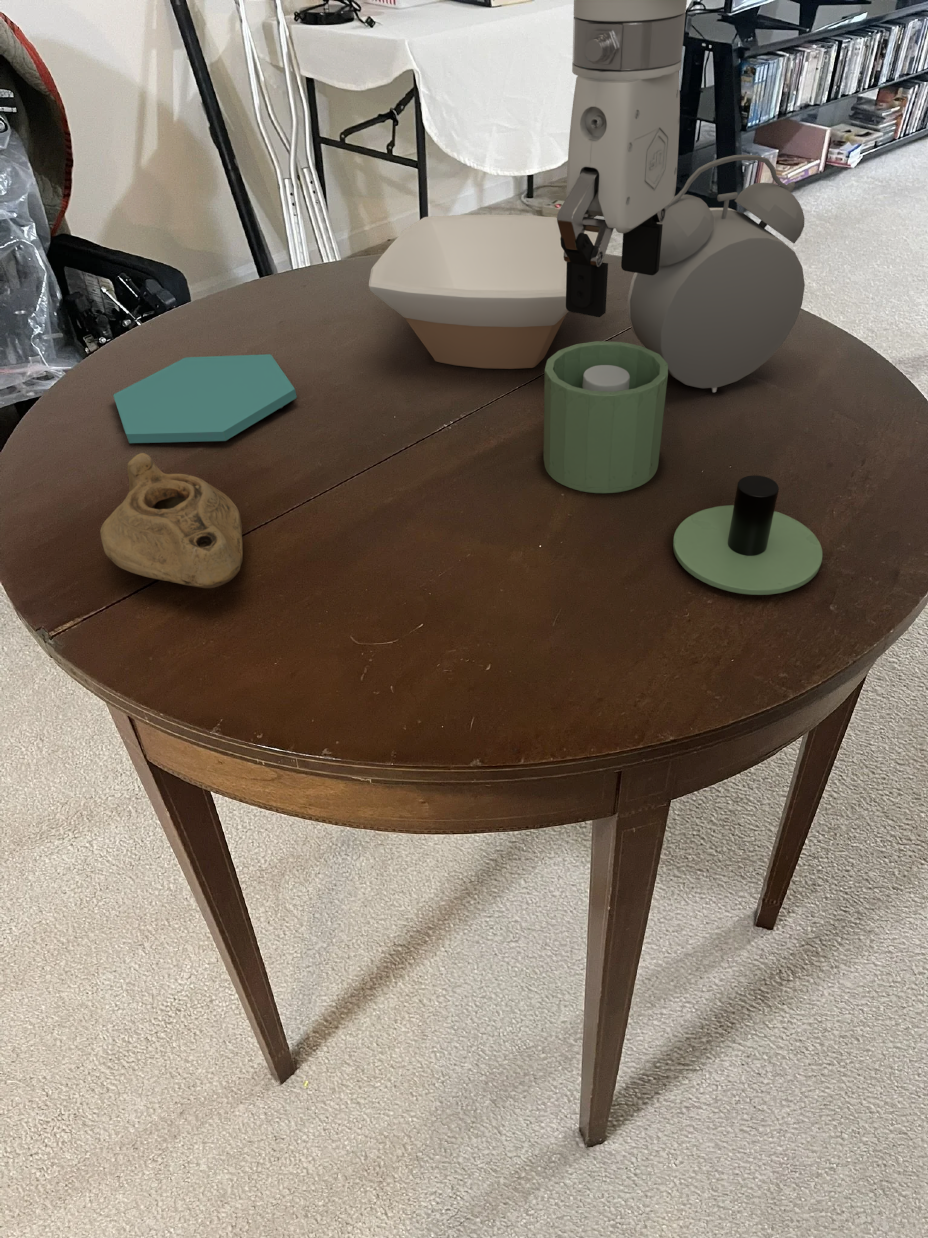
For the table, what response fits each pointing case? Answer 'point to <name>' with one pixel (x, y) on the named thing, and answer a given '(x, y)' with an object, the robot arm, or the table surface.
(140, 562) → the oil lamp
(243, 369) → the plaque
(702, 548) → the tin lid
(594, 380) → the pill bottle
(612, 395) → the cup
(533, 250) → the bowl
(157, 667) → the table surface
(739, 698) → the table surface
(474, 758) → the table surface
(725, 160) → the alarm clock
